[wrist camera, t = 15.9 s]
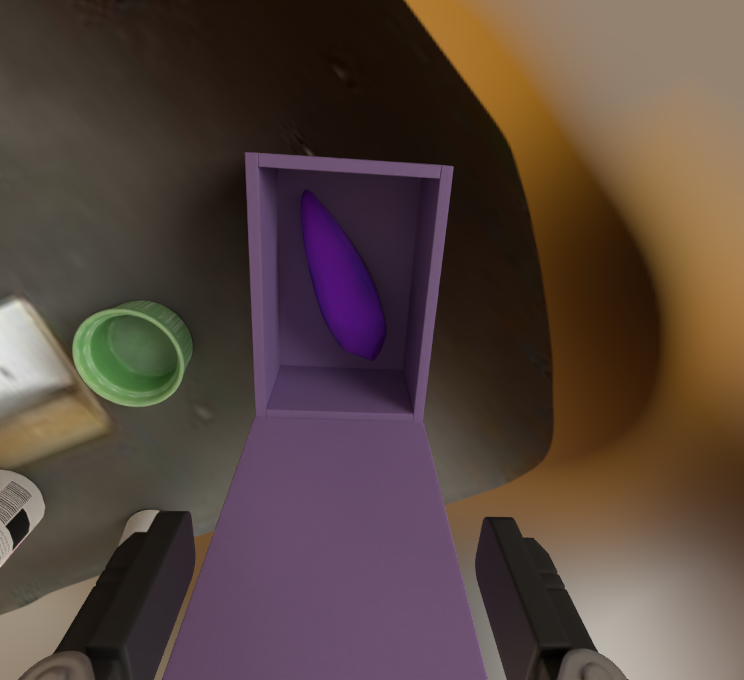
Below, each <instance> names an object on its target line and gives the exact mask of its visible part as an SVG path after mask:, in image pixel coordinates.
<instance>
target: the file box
mask: <svg viewBox="0 0 744 680" xmlns="http://www.w3.org/2000/svg"><path fill="white" fill-rule="evenodd" d="M245 170H246V195H247V219H248V243H249V268H250V292H251V316H252V341H253V365H254V389H255V414H256V418H286V419H318V420H351V421H384V422H416V423H422V421H423V413H424V405H425V397H426V388H427V380H428V372H429V364H430V356H431V347H432V339H433V331H434V323H435V315H436V306H437V298H438V290H439V282H440V274H441V265H442V257H443V249H444V241H445V233H446V224H447V216H448V208H449V200H450V192H451V183H452V175H453V166H446V165H434V164H420V163H405V162H390V161H375V160H360V159H345V158H330V157H315V156H301V155H286V154H271V153H251V152H245ZM306 189H307V190H308V191H310V192H311V193H312V194H313V195H314V196H315V197H316V198H317V199H318V200H319V201H320V202H321V203H322V204H323V206H324V207H325V208H326V209H327V210H328V211H329V213H330V214H331V215H332V216H333V217H334V219H335V220H336V221H337V223H338V224H339V225H340V227H341V228H342V229H343V231H344V232H345V234H346V235H347V236H348V238H349V239H350V240H351V242H352V243H353V245H354V246H355V248H356V250H357V251H358V253H359V254H360V256H361V258H362V259H363V261H364V263H365V264H366V266H367V268H368V270H369V272H370V274H371V277H372V279H373V281H374V283H375V285H376V288H377V291H378V294H379V298H380V301H381V305H382V308H383V312H384V316H385V320H386V325H387V334H386V338H385V341H384V344H383V347H382V349H381V352H380V353H379V355H378V356H377V358H376V359H375V360H374V361H371V360H368V359H365V358H362V357H360V356H357V355H354V354H351V353H348V352H346V351H345V350H343V349H342V348H341V347H340V346H339V344H338V343H337V342H336V340H335V339H334V337H333V335H332V334H331V332H330V330H329V329H328V327H327V325H326V323H325V321H324V319H323V317H322V314H321V311H320V309H319V305H318V302H317V299H316V295H315V292H314V288H313V284H312V280H311V276H310V272H309V268H308V263H307V258H306V253H305V247H304V241H303V233H302V225H301V209H300V207H301V197H302V194H303V192H304V190H306Z"/></svg>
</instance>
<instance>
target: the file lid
mask: <svg viewBox="0 0 744 680" xmlns="http://www.w3.org/2000/svg"><path fill="white" fill-rule="evenodd" d="M162 680H488V678H487V674H486V671H485V667H484V663H483V658H482V654H481V650H480V647H479V642H478V638H477V634H476V630H475V626H474V622H473V619H472V614H471V610H470V607H469V602H468V598H467V594H466V590H465V586H464V582H463V578H462V574H461V570H460V566H459V562H458V558H457V555H456V550H455V546H454V542H453V539H452V534H451V530H450V526H449V522H448V518H447V514H446V510H445V506H444V502H443V498H442V494H441V490H440V486H439V482H438V478H437V474H436V470H435V466H434V462H433V458H432V454H431V450H430V446H429V442H428V438H427V434H426V430H425V426H424V423H416V422H384V421H351V420H318V419H286V418H254V420H253V423H252V426H251V429H250V431H249V434H248V437H247V440H246V443H245V446H244V448H243V451H242V454H241V457H240V460H239V463H238V465H237V468H236V471H235V474H234V477H233V480H232V482H231V485H230V488H229V491H228V494H227V497H226V499H225V502H224V505H223V508H222V511H221V514H220V516H219V519H218V522H217V525H216V528H215V531H214V534H213V536H212V539H211V542H210V545H209V548H208V551H207V553H206V557H205V559H204V562H203V565H202V568H201V570H200V573H199V576H198V579H197V582H196V585H195V587H194V590H193V593H192V596H191V599H190V602H189V604H188V607H187V610H186V613H185V616H184V619H183V621H182V624H181V627H180V630H179V633H178V636H177V639H176V641H175V644H174V647H173V650H172V653H171V656H170V658H169V661H168V664H167V667H166V670H165V672H164V675H163V678H162Z"/></svg>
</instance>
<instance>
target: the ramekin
mask: <svg viewBox="0 0 744 680" xmlns="http://www.w3.org/2000/svg"><path fill="white" fill-rule="evenodd" d="M192 351H193V343H192V338H191V335H190V332H189V330H188V328H187V326H186V325H185V323H184V322H183V321H182V319H181V318H180V317H179V316H178V315H177V314H176V313H174V312H173V311H172V310H170V309H169V308H167V307H165V306H163V305H161V304H158V303H155V302H151V301H145V300H137V301H129V302H126V303H123V304H121V305H118V306H116V307H114V308H111V309H106V310H103V311H100V312H97V313H95V314H93V315H91V316H90V317H88V318H87V319H86V320H84V321H83V322H82V323H81V325H80V326H79V327H78V329H77V331H76V333H75V335H74V338H73V343H72V354H73V361H74V364H75V367H76V369H77V371H78V373H79V375H80V376H81V378H82V379H83V381H84V382H85V383H86V384H87V385H88V386H89V387H90V388H91V389H92V390H93V391H94V392H95V393H97V394H98V395H100V396H101V397H103V398H105V399H107V400H109V401H111V402H114V403H117V404H120V405H125V406H132V407H143V406H150V405H154V404H157V403H159V402H162V401H163V400H165V399H167V398H168V397H169V396H171V395H172V394H173V393H174V392H175V391H176V390H177V388H178V387H179V385H180V383H181V381H182V379H183V375H184V372H185V369H186V368H187V366H188V364H189V362H190V359H191V356H192Z"/></svg>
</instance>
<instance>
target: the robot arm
mask: <svg viewBox="0 0 744 680" xmlns="http://www.w3.org/2000/svg"><path fill="white" fill-rule="evenodd" d="M194 566H195V545H194V536H193V527H192V518H191V514H190V512H189V511H159V512H158V513H157V514H156V516H155V518H154V520H153V522H152V523H151V525H150V527H149V529H148V531H147V532H134V533H133V534H132V535H131V536H130V537H128V538H127V539H126V540H125V541H124V542H123V543H122V544H121V545H120V546H118V547H117V549H116V550H115V552H114V554H113V555H112V557H111V559H110V560H109V562H108V564H107V565H106V569H105V570H103V572H102V574H101V575H100V577H99V579H98V580H97V582H96V586H94V587H93V589H92V590H91V592H90V594H89V595H88V597H87V599H86V601H85V602H84V604H83V605H82V607H81V609H80V610H79V612H78V614H77V616H76V617H75V619H74V621H73V622H72V624H71V626H70V627H69V629H68V631H67V632H66V634H65V636H64V637H63V639H62V641H61V642H60V644H59V646H58V647H57V649H56V650H55V652H54V653H53V654H52V655H51V656H48V657H46V658H44V659H42V660H41V661H39V662H38V663H36V664H35V665H33V666H32V667H31V668H30V669H28V670H27V671H26V672H25V673H24V674H23V675H22V676H21V677H20V678H19V679H18V680H154V678H155V675H156V672H157V670H158V667H159V664H160V662H161V659H162V656H163V654H164V651H165V648H166V646H167V643H168V640H169V638H170V635H171V632H172V630H173V627H174V624H175V621H176V619H177V616H178V614H179V611H180V608H181V605H182V603H183V600H184V598H185V595H186V592H187V590H188V587H189V584H190V582H191V579H192V575H193V572H194ZM475 568H476V577H477V581H478V585H479V588H480V592H481V595H482V598H483V602H484V605H485V608H486V612H487V615H488V618H489V622H490V625H491V628H492V631H493V635H494V638H495V642H496V645H497V648H498V652H499V655H500V658H501V662H502V665H503V668H504V672H505V675H506V678H507V680H628V679H627V678H626V677H625V675H624V674H623V673H622V671H621V670H620V669H619V668H618V667H617V666H616V665H615V664H614V663H613V662H612V661H611V660H609V659H608V658H606V657H605V656H603V655H602V654H600V653H598V651H597V649H596V647H595V646H594V644H593V642H592V640H591V638H590V636H589V634H588V632H587V630H586V628H585V626H584V624H583V622H582V620H581V618H580V616H579V614H578V612H577V610H576V608H575V606H574V604H573V602H572V600H571V598H570V596H569V594H568V592H567V590H565V586H564V584H563V582H562V580H561V578H560V576H559V575H558V574H557V570H556V568H555V566H554V564H553V562H552V560H551V558H550V556H549V554H548V553H547V552H546V551H545V550H544V549H543V547H542V546H541V545H540V544H539V543H538V542H537V541H536V540H535V539H534V538H523V537H522V535H521V533H520V531H519V528H518V526H517V524H516V522H515V520H514V519H513V518H512V517H485V518H484V520H483V524H482V528H481V533H480V538H479V543H478V549H477V553H476V559H475Z"/></svg>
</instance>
